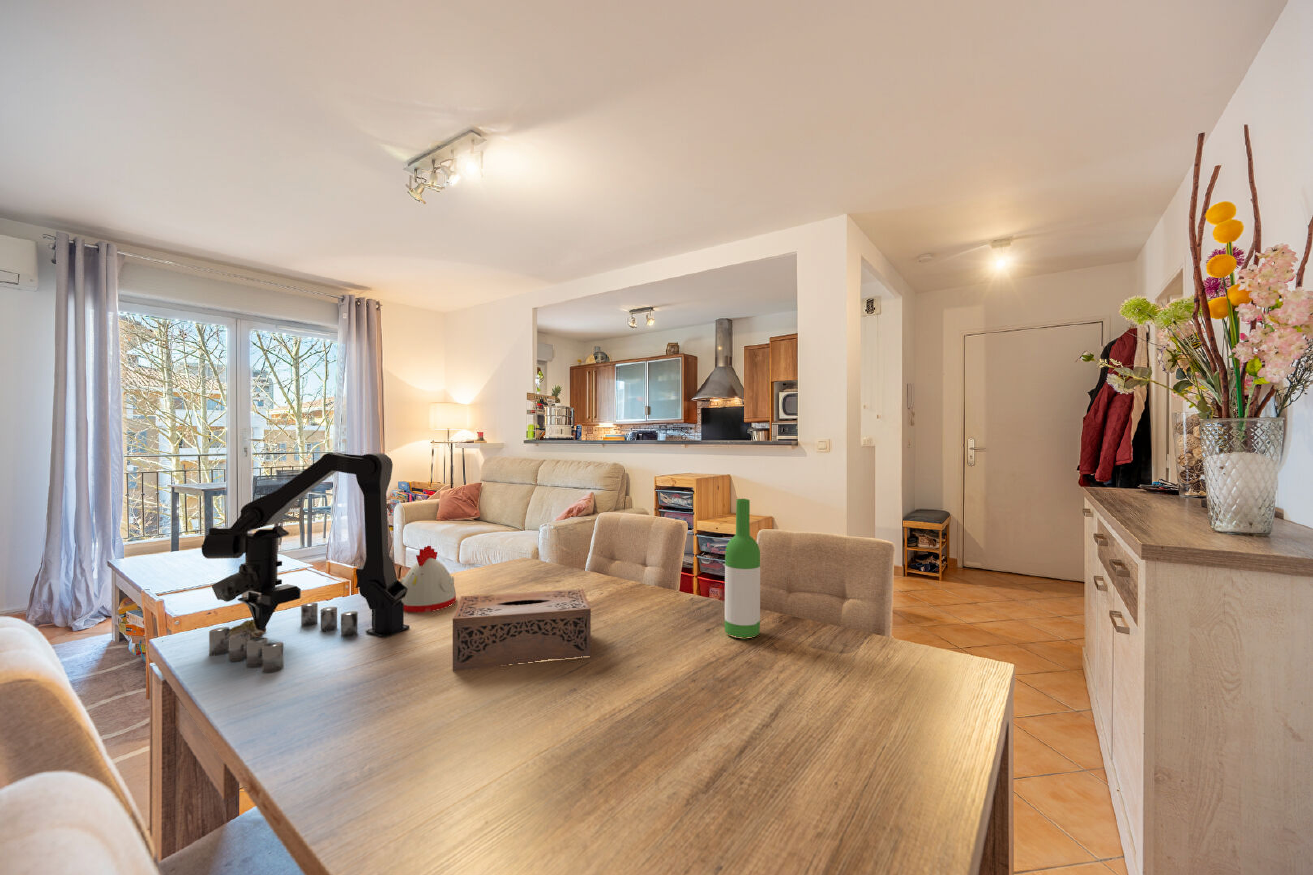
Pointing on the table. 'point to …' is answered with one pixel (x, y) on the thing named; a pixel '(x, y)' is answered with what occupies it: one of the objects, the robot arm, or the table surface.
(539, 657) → the tissue box cover
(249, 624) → the mineral rock
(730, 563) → the wine bottle
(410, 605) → the kitchen timer
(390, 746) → the table surface
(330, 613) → the spacer posts
